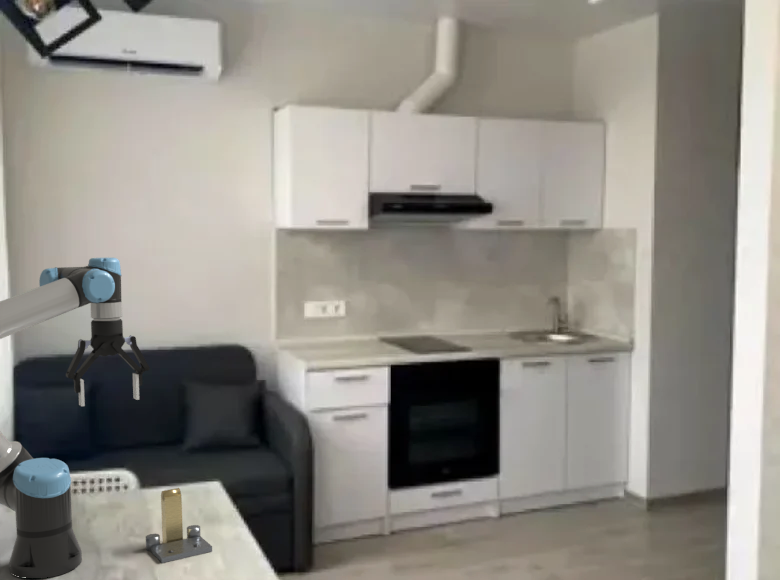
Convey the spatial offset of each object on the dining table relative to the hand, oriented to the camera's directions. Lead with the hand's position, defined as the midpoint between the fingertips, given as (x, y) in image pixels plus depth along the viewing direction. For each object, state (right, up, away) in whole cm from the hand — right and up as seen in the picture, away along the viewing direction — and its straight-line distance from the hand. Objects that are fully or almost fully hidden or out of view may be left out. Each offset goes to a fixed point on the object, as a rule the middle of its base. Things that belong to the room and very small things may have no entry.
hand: (109, 402), depth 216 cm
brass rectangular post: (+19, -32, -11) cm, 39 cm away
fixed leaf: (+22, -33, -15) cm, 42 cm away
